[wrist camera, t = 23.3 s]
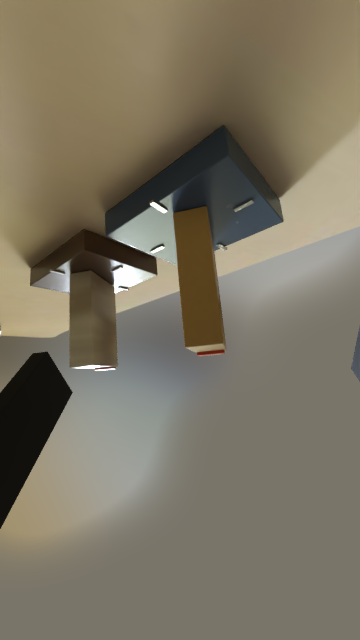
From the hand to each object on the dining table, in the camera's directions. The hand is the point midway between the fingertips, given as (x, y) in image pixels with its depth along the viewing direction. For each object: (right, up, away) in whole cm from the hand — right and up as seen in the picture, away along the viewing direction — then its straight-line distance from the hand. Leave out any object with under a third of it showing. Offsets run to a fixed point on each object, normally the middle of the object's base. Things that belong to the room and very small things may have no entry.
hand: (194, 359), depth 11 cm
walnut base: (-10, +8, +18) cm, 22 cm away
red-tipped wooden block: (+1, +9, +9) cm, 13 cm away
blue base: (0, +11, +10) cm, 15 cm away
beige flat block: (-10, +6, +18) cm, 21 cm away
